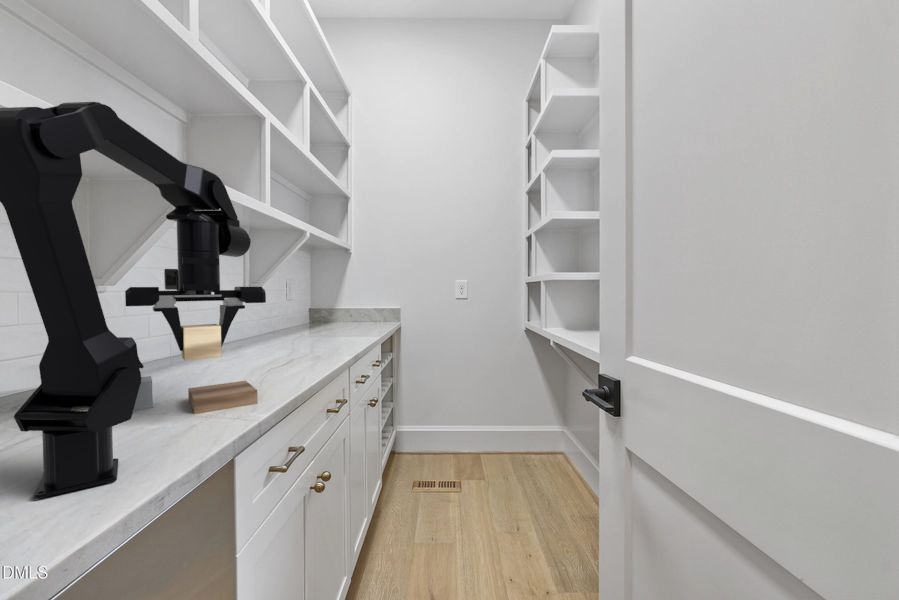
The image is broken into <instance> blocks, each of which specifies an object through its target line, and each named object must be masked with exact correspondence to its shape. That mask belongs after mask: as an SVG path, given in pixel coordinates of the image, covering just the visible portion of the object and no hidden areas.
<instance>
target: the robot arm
mask: <svg viewBox="0 0 899 600" xmlns="http://www.w3.org/2000/svg"><path fill="white" fill-rule="evenodd" d="M92 150H94V151H96V152H98V153H99V154H101V155H103V156H105V157H107V158H108V159H110V160H111V161H113V162H115V163H116V164H118V165H120V166H122V167H124V168H125V169H127V170H129V171H130V172H132V173H134V174H135V175H137V176H139V177H141V178H142V179H144V180H146V181H148V182H149V183H151V184H153V185H154V186H155V187H157V188H158V189H159V194H160V196H161V197H162V199H164V200H165V201H167V202H168V203H169V204H170V205H172V206H173V207H174V209H173V210H171V211H169V212H168V213H167V214H166V215H165V217H166V219H167V220H169V221H174V222H176V241H177V243H176V244H177V247H176V248H177V268H165V269H164V270H163V271H164V273H163V274H164V275H163V276H164V290H160V287H159V286H130V287H128V288H127V289H126V290H125V292H124V293H125V307H151V306H152V311H153V312H155V313H157V312H159V313H160V312H161V313H162V315H163V317H164V319H165V320H166V321H167V323H168V325H169V327H170V329H171V332H172V334H173V337H174V339H175V341H176V344H177V347H178V349H179V351H180V352H181V351H183V336H182V330H181V326H182V325H181V320H180V319H181V318H180V313H179V308H178V307H177V306H175V304H176V302H178V303H180V302H210V301H212V302H215V301H216V302H217V301H218V302H219V301H221V302H222V304H219V321H218V322H219V323H218V325H219V326H221V348H222V347H223V346H224V342H225V340H226V338H227V335H228V332H229V330H230V327H231V324H232V322H233V321H234V319H235V317H236V316H237V313H238V312H239V310H241V309H246V305H243V303H245V304H260V303H261V304H264V303H266V302H267V298H266V295H267V294H266V291H265V288H263V286H234V288H233V289H225V290H224V289H221V276H220V275H221V272H220V270H221V267H220V256H226V257H231V258H232V257H233V258H238V257H242V256H244V255H245V254H246V253H247V252H248V251H249V249H250V247H251V241H252V240H251V238H250V235H249V233H248V231H247V230H246V229H245V228H242V227H241V225H240V224H241V223H240V220H239V219H238V218H239V217H238V215H237V212H236V210H235V208H234V204H233V203H232V201H231V198H230V196H229V192H228V190H227V188H226V186H225V184H224V182H223V180H222V179H221V178H220V177H219V176H218V175H216V174H215V173H213V172H212V171H210V170H207V169H205V168H203V167H201V166H196V165H192V164H188V163H186V162H183V161H181V160H179V159H177V157H175V156H173V155H172V154H170V153H169V151H167V150H165V149H164V148H162V147H161V146H160V145H158V144H156V143H155V142H154V141H152V140H151V139H150V138H148V137H147V136H145V134H142V133H141V132H139V131H138V130H137V129H135V128H134V126H131V125H130V124H128V123H127V122H125V120H123V119H122V118H120V117H119V116H118V114H117V112H116V111H114V109H112V108H111V106H110V105H109V106H108V105H107V104H105V103H101V102H98V101H77V102H75V101H74V102H63V103H59V104H58V105H55V106H50V107H46V108H42V107H39V106H19V107H18V106H15V107H0V203H1V204H2V207H3V208H4V211H5V213H6V215H7V219H8V223H9V225H10V228H11V231H12V234H13V237H14V239H15V243H16V245H17V249H18V252H19V254H20V258H21V261H22V264H23V267H24V269H25V272H26V276H27V279H28V281H29V284H30V287H31V290H32V292H33V297H34V299H35V302H36V306H37V307H38V312H39V314H40V316H41V320H42V324H43V327H44V329H45V332H46V335H47V339H48V342H47V345H46V346H45V349H44V352H43V355H42V356H41V360H40V362H39V365H38V369H39V375H40V376H39V377H40V383H41V384H39V386H38V387H36V389H35V390H34V392H33V393H32V394H31V395H30V396H29V397H28V398H27V400H26V401H24V403H23V404H22V405H21V407H20V408H19V409H18V410H17V411H16V412H15V413H14V415H13V418H14V421H15V422H16V425H17V427H18V428H19V430H20V432H42V433H41V434H42V459H43V461H42V464H43V468H42V469H43V475H42V477H41V479H40V480H39V483H38V484H37V486H36V490H35V491H34V493H33V498H34V500H37V499H43V498H48V497H51V496H52V497H53V496H55V495H60V494H64V493H69V492H73V491H77V490H82V489H86V488H91V487H94V486H95V487H96V486H99V485H103V484H108V483H113V482H115V481H117V480H118V473H119V458H114V447H113V444H114V443H113V427H114V426H118V425H120V424H122V423H125V422H127V421H130V420H131V419H132V418H133V414H134V411H135V410H134V406H135V402H136V399H137V395H138V391H139V387H140V384H141V377H142V374H141V370H140V369H144V365H143V363H142V362H141V360H140V358H139V354H138V345H137V342H136V341H135V339H134V338H133V337H132V336H131V337H125V336H124V337H120V336H119V337H118V336H116V335H115V333H113V332H112V331H111V330H110V329H109V327H108V325H107V322H106V321H107V320H106V318H105V315H104V314H105V313H104V311H103V307H102V305H101V300H100V297H99V294H98V291H97V287H96V286H97V285H96V284H95V280H94V276H93V273H92V269H91V266H90V261H89V258H88V255H87V252H86V251H87V250H86V248H85V244H84V241H83V238H82V235H81V231H80V227H79V224H78V220H77V218H76V214H75V211H74V210H75V209H74V206H73V201H74V200H73V199H74V198H75V195H76V192H77V189H78V187H79V185H80V182H81V180H82V177H83V168H82V160H81V154H83V153H86V152H89V151H92ZM212 293H213V294H212ZM72 408H89V409H88V410H87V411H86V410H73V411H71V409H72ZM133 410H134V411H133Z"/></svg>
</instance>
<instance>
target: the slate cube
mask: <svg viewBox="0 0 899 600" xmlns="http://www.w3.org/2000/svg"><path fill="white" fill-rule="evenodd" d="M153 402H154V401H153V379H152V375H150V376H149V375H148V376H141V384H140V387H139V391H138V395H137V399H136V402H135V406H134V410H133V412H134V411H140V410H145V409H152V408H153V405H154V403H153Z"/></svg>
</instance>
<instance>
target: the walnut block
mask: <svg viewBox="0 0 899 600" xmlns="http://www.w3.org/2000/svg"><path fill="white" fill-rule="evenodd" d="M187 389H188V390H187V391H188V393H187V394H188V404H189V405H190V408H191V410H192V412H193V414H194V415H198V414H204V413H211V412H216V411H223V410H228V409H234V408H240V407H247V406H253V405H257V404H258V389H257V388H256V387H254V386H253V385H252V384H250V383H249V382H248V381H247V380H240V381H234V382H225V383H218V384H211V385H204V386H203V385H202V386H197V387H189V388H187Z"/></svg>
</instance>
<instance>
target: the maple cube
mask: <svg viewBox="0 0 899 600" xmlns="http://www.w3.org/2000/svg"><path fill="white" fill-rule="evenodd" d="M181 330H182V336H183V351H180V353H181V354H180V355H181V358H182V359H183V361H193V360H203V359H204V360H205V359H212V358H213V359H215V358H221V357H222V347H221V326H219V324H217V323H208V324H207V323H206V324H189V325H188V324H187V325H181Z"/></svg>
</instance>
